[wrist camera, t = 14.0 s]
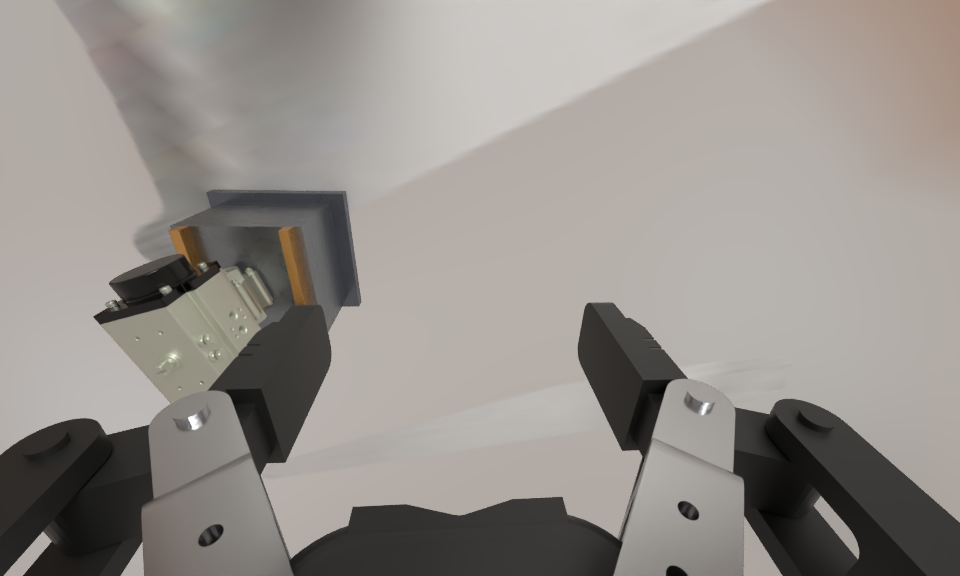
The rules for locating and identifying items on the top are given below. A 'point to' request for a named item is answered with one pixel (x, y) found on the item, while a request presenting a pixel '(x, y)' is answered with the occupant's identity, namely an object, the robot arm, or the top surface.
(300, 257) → the orange-striped grey block
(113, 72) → the top surface
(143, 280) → the pneumatic valve
